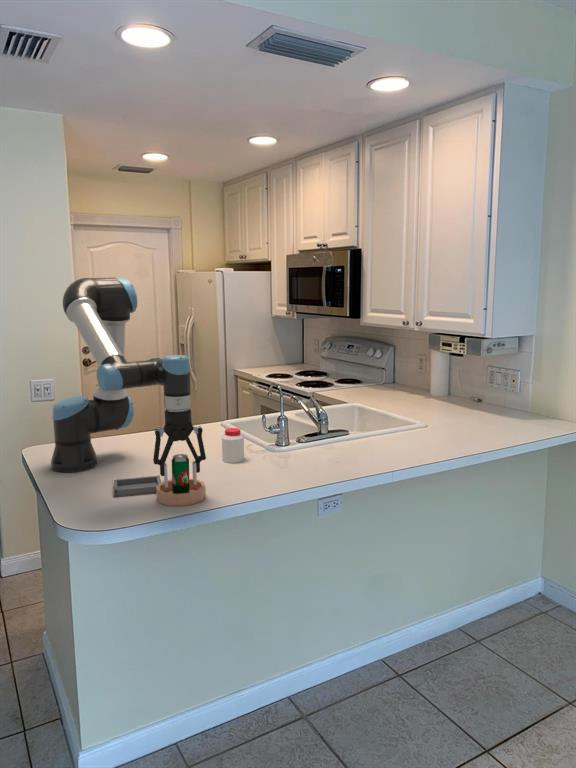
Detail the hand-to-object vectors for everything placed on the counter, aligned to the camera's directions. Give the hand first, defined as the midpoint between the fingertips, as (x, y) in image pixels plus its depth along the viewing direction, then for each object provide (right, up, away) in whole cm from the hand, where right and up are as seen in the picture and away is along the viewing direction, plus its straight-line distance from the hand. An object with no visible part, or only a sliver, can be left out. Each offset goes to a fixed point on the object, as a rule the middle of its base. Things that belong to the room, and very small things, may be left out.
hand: (180, 484), depth 176 cm
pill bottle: (+12, +2, +37) cm, 39 cm away
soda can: (0, -3, +1) cm, 3 cm away
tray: (-15, -3, +8) cm, 17 cm away
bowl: (0, -4, +1) cm, 4 cm away
